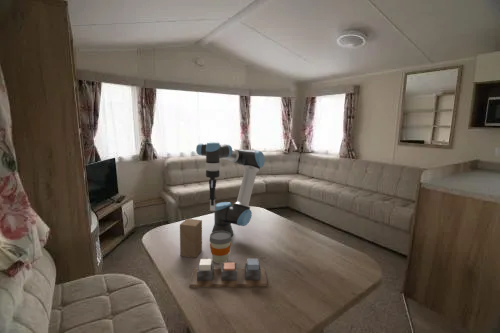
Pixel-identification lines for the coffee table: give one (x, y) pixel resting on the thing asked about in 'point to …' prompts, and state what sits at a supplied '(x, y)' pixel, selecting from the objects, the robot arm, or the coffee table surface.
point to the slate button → (252, 264)
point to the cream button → (205, 265)
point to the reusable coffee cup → (220, 246)
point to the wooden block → (190, 238)
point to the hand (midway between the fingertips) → (212, 210)
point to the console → (228, 277)
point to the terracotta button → (229, 266)
